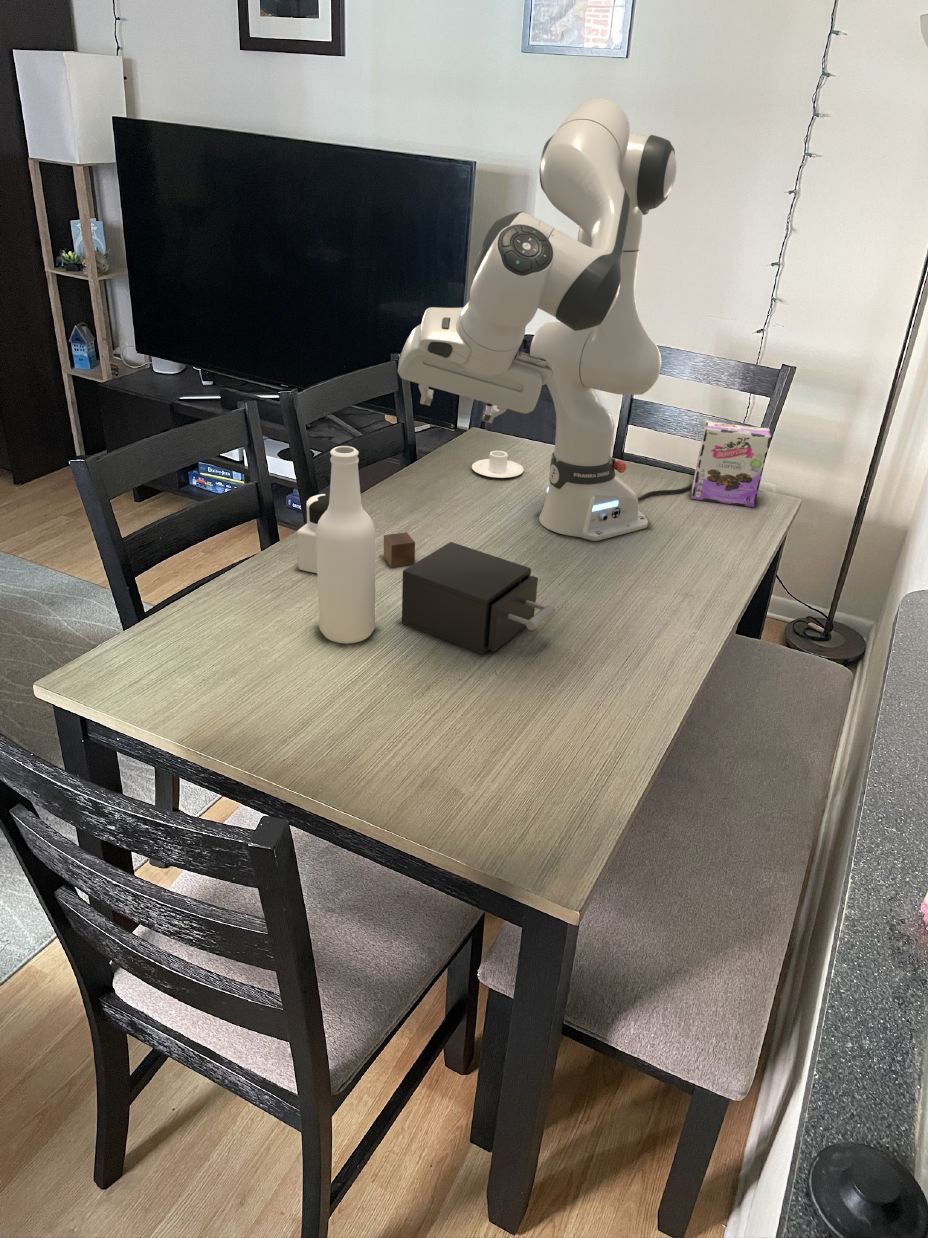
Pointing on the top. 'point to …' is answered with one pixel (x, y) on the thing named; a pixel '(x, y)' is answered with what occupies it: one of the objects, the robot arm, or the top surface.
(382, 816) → the top surface
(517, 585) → the pull-out drawer
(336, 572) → the alcohol
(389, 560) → the block
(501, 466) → the candle holder
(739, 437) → the candy box
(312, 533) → the container
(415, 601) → the small drawer cabinet
